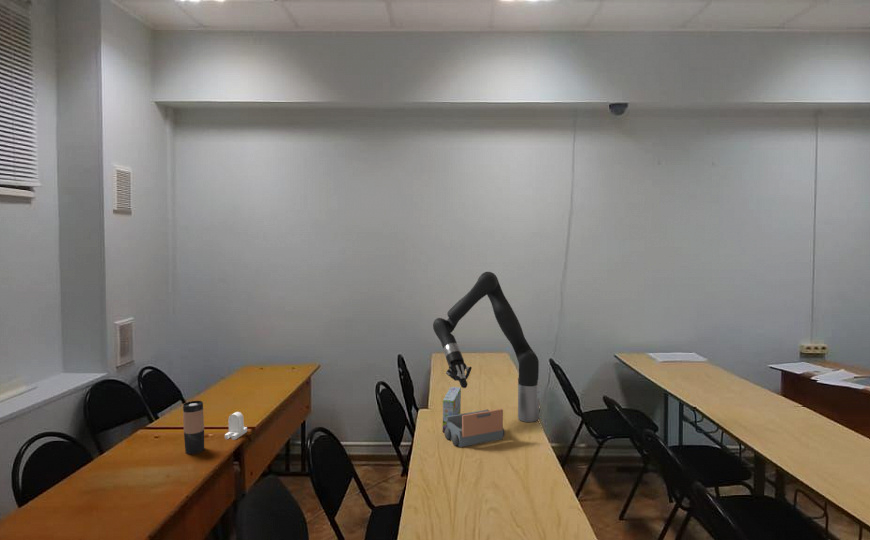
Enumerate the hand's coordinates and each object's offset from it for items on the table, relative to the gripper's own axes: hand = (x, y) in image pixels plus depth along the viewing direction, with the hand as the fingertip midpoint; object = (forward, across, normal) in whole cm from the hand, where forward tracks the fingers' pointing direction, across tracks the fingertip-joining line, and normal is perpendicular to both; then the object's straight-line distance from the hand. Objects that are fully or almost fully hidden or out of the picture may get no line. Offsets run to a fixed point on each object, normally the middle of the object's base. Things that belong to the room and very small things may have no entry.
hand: (465, 387), depth 233 cm
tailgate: (+22, 0, -1) cm, 23 cm away
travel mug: (-5, -112, +33) cm, 117 cm away
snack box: (+8, -2, +21) cm, 23 cm away
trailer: (+20, 0, +8) cm, 22 cm away
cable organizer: (-12, -96, +41) cm, 105 cm away
